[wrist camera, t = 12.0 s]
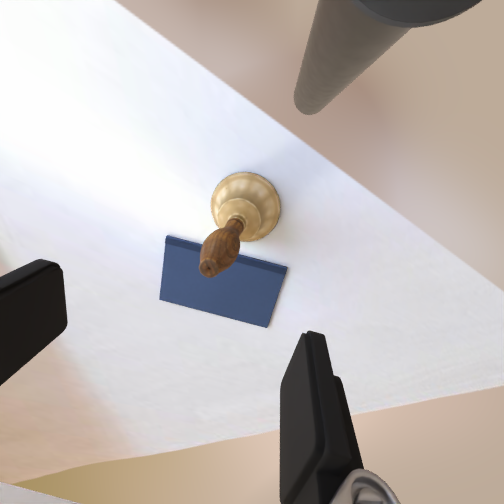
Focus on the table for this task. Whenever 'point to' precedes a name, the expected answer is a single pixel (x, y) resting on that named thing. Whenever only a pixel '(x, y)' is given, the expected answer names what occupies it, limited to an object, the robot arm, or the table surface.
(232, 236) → the hand bell
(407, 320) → the table surface
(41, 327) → the robot arm
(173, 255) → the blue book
